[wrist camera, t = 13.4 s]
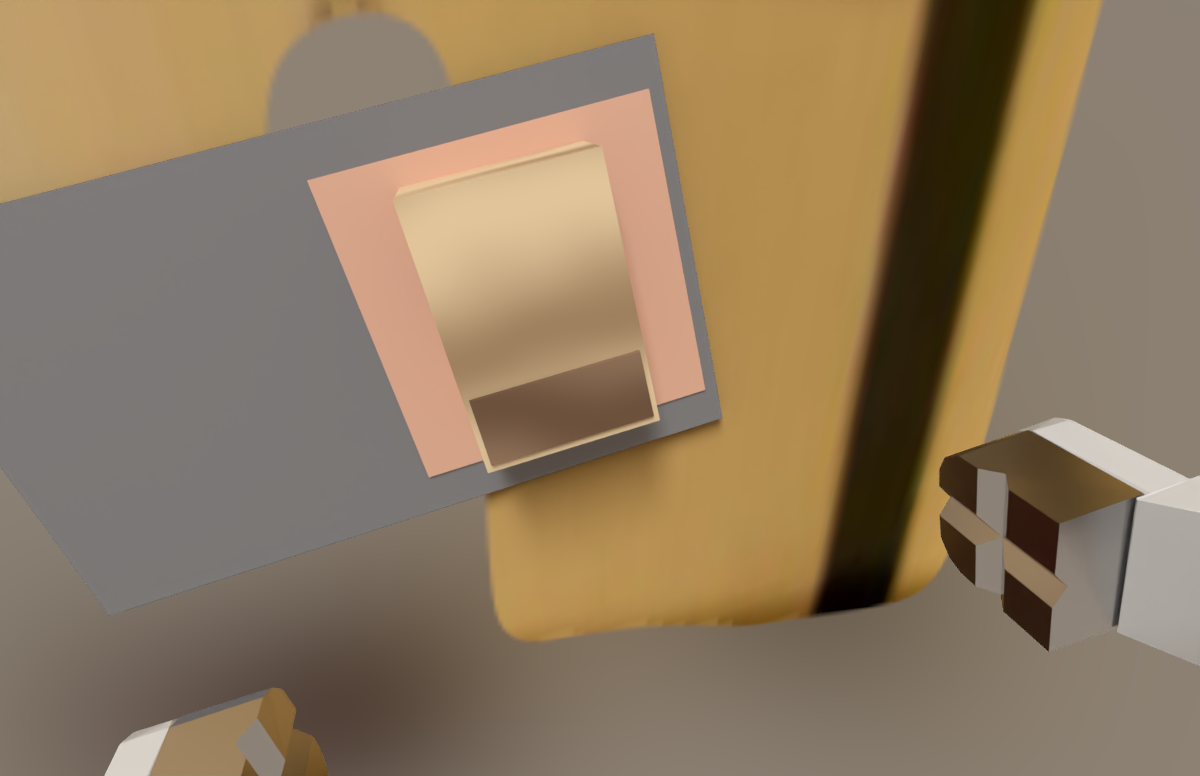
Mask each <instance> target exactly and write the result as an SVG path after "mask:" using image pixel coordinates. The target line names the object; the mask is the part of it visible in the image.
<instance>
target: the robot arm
mask: <svg viewBox="0 0 1200 776" xmlns="http://www.w3.org/2000/svg"><path fill="white" fill-rule="evenodd" d="M939 486H940V487H941V488H942V489H943V490H944V491H945V492H946V493H947V494H948V495H949V496H950V498H949V500H948V502H947V503H946V505H945V507H944V509H943V510H942V512H941V514H940V530H941V538H942V541H943V543H944V546H945V548H946V550H947V553H948V555H949V558H950V559H951V560H952V562H953V563H954V564H955V566H956V567H957V568H958V570H959V571H960V572H961V573H962V574H963V575H964V576H965V577H966V578H967V579H968V580H969V581H970V582H971V583H972V584H973V585H975V586H976V587H979V588H982V589H985V590H988V591H991V592H994V593H997V594H1000V595H1001V599H1002V606H1003V612H1004V613H1006V614H1007V615H1008V616H1009V617H1010V618H1011V619H1012V620H1013V621H1015V622H1016V623H1017V624H1018V625H1019V626H1020V627H1021V628H1022V629H1024V630H1025V631H1026V632H1027V633H1028V634H1029V635H1030V636H1031V637H1033V638H1034V639H1035V640H1036V641H1037V642H1038V643H1039V644H1040V645H1042V646H1043V647H1044V648H1045V649H1046V650H1047V651H1048V652H1050V651H1053V650H1056V649H1059V648H1062V647H1065V646H1067V645H1070V644H1073V643H1076V642H1079V641H1081V640H1085V639H1088V638H1090V637H1093V636H1096V635H1099V634H1102V633H1104V632H1107V631H1110V630H1113V629H1116V628H1118V631H1117V632H1118V633H1120V634H1123V635H1125V636H1128V637H1130V638H1133V639H1135V640H1137V641H1140V642H1142V643H1145V644H1147V645H1150V646H1152V647H1155V648H1157V649H1160V650H1162V651H1165V652H1167V653H1169V654H1172V655H1174V656H1177V657H1179V658H1182V659H1184V660H1186V661H1189V662H1191V663H1194V664H1196V665H1199V666H1200V476H1198V477H1195V478H1192V479H1188V478H1186V477H1184V476H1182V475H1180V474H1178V473H1176V472H1174V471H1172V470H1170V469H1168V468H1166V467H1164V466H1162V465H1160V464H1158V463H1156V462H1154V461H1152V460H1150V459H1148V458H1146V457H1144V456H1142V455H1140V454H1138V453H1136V452H1134V451H1132V450H1130V449H1128V448H1126V447H1124V446H1122V445H1120V444H1118V443H1116V442H1114V441H1112V440H1110V439H1108V438H1106V437H1104V436H1102V435H1100V434H1098V433H1096V432H1094V431H1092V430H1090V429H1088V428H1086V427H1084V426H1082V425H1080V424H1078V423H1076V422H1074V421H1072V420H1070V419H1062V418H1052V419H1049V420H1047V421H1044V422H1041V423H1038V424H1036V425H1033V426H1030V427H1027V428H1025V429H1022V430H1019V431H1018V432H1017V433H1014V434H1011V435H1008V436H1005V437H1002V438H999V439H996V440H994V441H991V442H988V443H985V444H982V445H979V446H976V447H973V448H971V449H968V450H965V451H962V452H959V453H956V454H953V455H951V456H948V457H945V458H944V460H943V462H942V464H941V467H940V469H939ZM295 712H296V709H295V707H294V706H293V704H292V703H291V701H290V700H289V698H288V697H287V695H286V694H285V692H284V691H283V690H282V689H276V688H269V689H266V690H263V691H260V692H257V693H254V694H250V695H247V696H244V697H241V698H238V699H234V700H231V701H228V702H225V703H222V704H219V705H216V706H213V707H209V708H206V709H203V710H200V711H197V712H194V713H190V714H188V715H184V716H182V717H180V718H179V719H175V720H171V721H168V722H165V723H162V724H159V725H156V726H152V727H150V728H146V729H143V730H140V731H137V732H134V733H132V734H131V735H130V736H129V737H128V738H127V739H125V740H124V741H123V742H122V743H121V744H120V745H119V747H118V749H117V751H116V753H115V755H114V757H113V759H112V761H111V763H110V765H109V767H108V769H107V772H106V774H105V776H328V770H327V767H326V764H325V761H324V758H323V755H322V752H321V750H320V748H319V746H318V745H317V743H316V741H315V740H314V738H313V736H311V735H308V734H306V733H303V732H301V731H298V730H296V729H293V728H292V726H293V721H294V716H295Z"/></svg>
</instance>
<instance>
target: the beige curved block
mask: <svg viewBox="0 0 1200 776" xmlns="http://www.w3.org/2000/svg"><path fill="white" fill-rule="evenodd" d="M393 203H394V206H395V209H396V212H397V215H398V218H399V221H400V223H401V226H402V229H403V232H404V235H405V238H406V241H407V243H408V246H409V249H410V252H411V255H412V258H413V261H414V263H415V266H416V269H417V272H418V275H419V278H420V281H421V283H422V286H423V289H424V292H425V295H426V298H427V301H428V303H429V306H430V309H431V312H432V315H433V318H434V321H435V323H436V326H437V329H438V332H439V335H440V338H441V341H442V343H443V346H444V349H445V352H446V355H447V358H448V361H449V363H450V366H451V369H452V372H453V375H454V378H455V381H456V383H457V386H458V389H459V392H460V395H461V398H462V401H463V403H464V406H465V409H466V412H467V415H468V418H469V421H470V423H471V426H472V429H473V432H474V435H475V438H476V441H477V443H478V446H479V449H480V452H481V455H482V458H483V461H484V463H485V466H486V469H487V472H488V473H491V472H494V471H497V470H501V469H504V468H507V467H510V466H513V465H517V464H520V463H523V462H526V461H530V460H533V459H536V458H539V457H543V456H546V455H549V454H552V453H556V452H559V451H562V450H565V449H568V448H572V447H575V446H578V445H581V444H585V443H588V442H591V441H594V440H598V439H601V438H604V437H607V436H611V435H614V434H617V433H620V432H624V431H627V430H630V429H633V428H636V427H640V426H643V425H646V424H649V423H653V422H656V421H659V420H660V418H659V413H658V409H657V404H656V399H655V394H654V390H653V385H652V380H651V375H650V371H649V366H648V361H647V357H646V352H645V347H644V342H643V338H642V333H641V328H640V323H639V319H638V314H637V309H636V305H635V300H634V295H633V290H632V286H631V281H630V276H629V271H628V267H627V262H626V257H625V253H624V248H623V243H622V238H621V234H620V229H619V224H618V219H617V215H616V210H615V205H614V201H613V196H612V191H611V186H610V182H609V177H608V172H607V167H606V163H605V158H604V153H603V149H602V146H599V145H596V144H592V143H589V142H586V141H578V142H574V143H570V144H566V145H563V146H559V147H555V148H551V149H547V150H543V151H540V152H536V153H532V154H528V155H524V156H521V157H517V158H513V159H509V160H505V161H501V162H498V163H494V164H490V165H486V166H482V167H478V168H475V169H471V170H467V171H463V172H459V173H456V174H452V175H448V176H444V177H440V178H436V179H433V180H429V181H425V182H421V183H417V184H414V185H410V186H406V187H402V188H399V189H398V191H397V193H396V196H395V198H394V200H393Z"/></svg>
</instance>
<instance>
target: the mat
mask: <svg viewBox="0 0 1200 776" xmlns="http://www.w3.org/2000/svg"><path fill="white" fill-rule="evenodd" d="M578 141H586V142H589V143H592V144H596V145H599V146H602V149H603V153H604V158H605V163H606V167H607V172H608V177H609V182H610V186H611V191H612V196H613V201H614V205H615V210H616V215H617V219H618V224H619V229H620V234H621V238H622V243H623V248H624V253H625V257H626V262H627V267H628V271H629V276H630V281H631V286H632V290H633V295H634V300H635V305H636V309H637V314H638V319H639V323H640V328H641V333H642V338H643V342H644V347H645V352H646V357H647V361H648V366H649V371H650V375H651V380H652V385H653V390H654V394H655V399H656V404H657V409H658V413H659V418H660V420H659V421H656V422H653V423H649V424H646V425H643V426H640V427H636V428H633V429H630V430H627V431H624V432H620V433H617V434H614V435H611V436H607V437H604V438H601V439H598V440H594V441H591V442H588V443H585V444H581V445H578V446H575V447H572V448H568V449H565V450H562V451H559V452H556V453H552V454H549V455H546V456H543V457H539V458H536V459H533V460H530V461H526V462H523V463H520V464H517V465H513V466H510V467H507V468H504V469H501V470H497V471H494V472H491V473H488V472H487V469H486V466H485V463H484V461H483V458H482V455H481V452H480V449H479V446H478V443H477V441H476V438H475V435H474V432H473V429H472V426H471V423H470V421H469V418H468V415H467V412H466V409H465V406H464V403H463V401H462V398H461V395H460V392H459V389H458V386H457V383H456V381H455V378H454V375H453V372H452V369H451V366H450V363H449V361H448V358H447V355H446V352H445V349H444V346H443V343H442V341H441V338H440V335H439V332H438V329H437V326H436V323H435V321H434V318H433V315H432V312H431V309H430V306H429V303H428V301H427V298H426V295H425V292H424V289H423V286H422V283H421V281H420V278H419V275H418V272H417V269H416V266H415V263H414V261H413V258H412V255H411V252H410V249H409V246H408V243H407V241H406V238H405V235H404V232H403V229H402V226H401V223H400V221H399V218H398V215H397V212H396V209H395V206H394V203H393V200H394V198H395V196H396V193H397V191H398V189H399V188H402V187H406V186H410V185H414V184H417V183H421V182H425V181H429V180H433V179H436V178H440V177H444V176H448V175H452V174H456V173H459V172H463V171H467V170H471V169H475V168H478V167H482V166H486V165H490V164H494V163H498V162H501V161H505V160H509V159H513V158H517V157H521V156H524V155H528V154H532V153H536V152H540V151H543V150H547V149H551V148H555V147H559V146H563V145H566V144H570V143H574V142H578ZM721 418H722V413H721V408H720V402H719V396H718V391H717V385H716V380H715V374H714V368H713V363H712V357H711V352H710V346H709V340H708V335H707V329H706V324H705V318H704V312H703V307H702V301H701V296H700V290H699V284H698V279H697V273H696V268H695V262H694V256H693V251H692V245H691V240H690V234H689V228H688V223H687V217H686V212H685V206H684V201H683V195H682V189H681V184H680V178H679V173H678V167H677V161H676V156H675V150H674V145H673V139H672V133H671V128H670V122H669V117H668V111H667V105H666V100H665V94H664V89H663V83H662V77H661V72H660V66H659V61H658V55H657V49H656V44H655V38H654V34H650V35H646V36H642V37H638V38H634V39H631V40H627V41H623V42H619V43H615V44H611V45H608V46H604V47H600V48H596V49H592V50H588V51H585V52H581V53H577V54H573V55H569V56H565V57H562V58H558V59H554V60H550V61H546V62H542V63H539V64H535V65H531V66H527V67H523V68H520V69H516V70H512V71H508V72H504V73H500V74H497V75H493V76H489V77H485V78H481V79H477V80H474V81H470V82H466V83H462V84H458V85H454V86H451V87H447V88H443V89H439V90H435V91H431V92H428V93H424V94H420V95H416V96H413V97H409V98H405V99H401V100H397V101H393V102H389V103H386V104H382V105H378V106H374V107H371V108H366V109H363V110H359V111H355V112H351V113H347V114H343V115H340V116H336V117H332V118H328V119H324V120H320V121H317V122H313V123H309V124H305V125H302V126H298V127H294V128H290V129H286V130H282V131H278V132H275V133H271V134H267V135H263V136H259V137H255V138H252V139H248V140H244V141H240V142H236V143H232V144H229V145H225V146H221V147H217V148H213V149H209V150H206V151H202V152H198V153H194V154H190V155H186V156H183V157H179V158H175V159H171V160H167V161H164V162H160V163H156V164H152V165H148V166H144V167H141V168H137V169H133V170H129V171H125V172H121V173H118V174H114V175H110V176H106V177H102V178H98V179H95V180H91V181H87V182H83V183H79V184H75V185H72V186H68V187H64V188H60V189H56V190H52V191H49V192H45V193H41V194H37V195H33V196H30V197H26V198H22V199H18V200H14V201H10V202H7V203H3V204H0V467H1V469H2V470H3V471H4V473H5V474H6V475H7V477H8V478H9V479H10V481H11V482H12V483H13V485H14V486H15V488H16V489H17V490H18V492H19V493H20V494H21V496H22V497H23V499H24V500H25V501H26V502H27V504H28V505H29V507H30V508H31V509H32V511H33V512H34V513H35V515H36V516H37V518H38V519H39V520H40V522H41V523H42V524H43V526H44V527H45V528H46V530H47V531H48V533H49V534H50V535H51V537H52V538H53V539H54V541H55V542H56V544H57V545H58V546H59V548H60V549H61V550H62V552H63V553H64V554H65V555H66V557H67V558H68V560H69V561H70V563H71V564H72V565H73V567H74V568H75V569H76V571H77V572H78V574H79V575H80V576H81V578H82V579H83V580H84V582H85V583H86V585H87V586H88V587H89V588H90V590H91V591H92V593H93V594H94V595H95V597H96V598H97V600H98V601H99V602H100V604H101V605H102V606H103V607H104V609H105V610H106V612H107V613H108V614H109V616H110V615H113V614H116V613H119V612H122V611H125V610H128V609H132V608H135V607H138V606H141V605H144V604H147V603H150V602H153V601H156V600H159V599H162V598H166V597H169V596H172V595H175V594H178V593H181V592H184V591H187V590H191V589H193V588H197V587H200V586H203V585H206V584H209V583H212V582H215V581H218V580H222V579H225V578H228V577H231V576H234V575H237V574H240V573H243V572H246V571H249V570H253V569H256V568H259V567H262V566H265V565H268V564H271V563H274V562H277V561H280V560H283V559H287V558H290V557H293V556H296V555H299V554H302V553H305V552H308V551H311V550H315V549H318V548H321V547H324V546H327V545H330V544H333V543H336V542H339V541H342V540H346V539H349V538H352V537H355V536H358V535H361V534H364V533H367V532H370V531H373V530H377V529H379V528H383V527H386V526H389V525H392V524H395V523H398V522H401V521H404V520H407V519H411V518H414V517H417V516H420V515H423V514H426V513H429V512H432V511H435V510H439V509H442V508H445V507H448V506H451V505H454V504H457V503H460V502H463V501H467V500H470V499H473V498H476V497H479V496H482V495H485V494H488V493H491V492H494V491H498V490H501V489H504V488H507V487H510V486H513V485H516V484H519V483H522V482H525V481H529V480H532V479H535V478H538V477H541V476H544V475H547V474H550V473H553V472H556V471H560V470H563V469H566V468H569V467H572V466H575V465H578V464H581V463H584V462H587V461H591V460H594V459H597V458H600V457H603V456H606V455H609V454H612V453H615V452H619V451H622V450H625V449H628V448H631V447H634V446H637V445H640V444H643V443H646V442H650V441H653V440H656V439H659V438H662V437H665V436H668V435H671V434H674V433H677V432H681V431H684V430H687V429H690V428H693V427H696V426H699V425H702V424H705V423H708V422H712V421H715V420H718V419H721Z"/></svg>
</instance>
